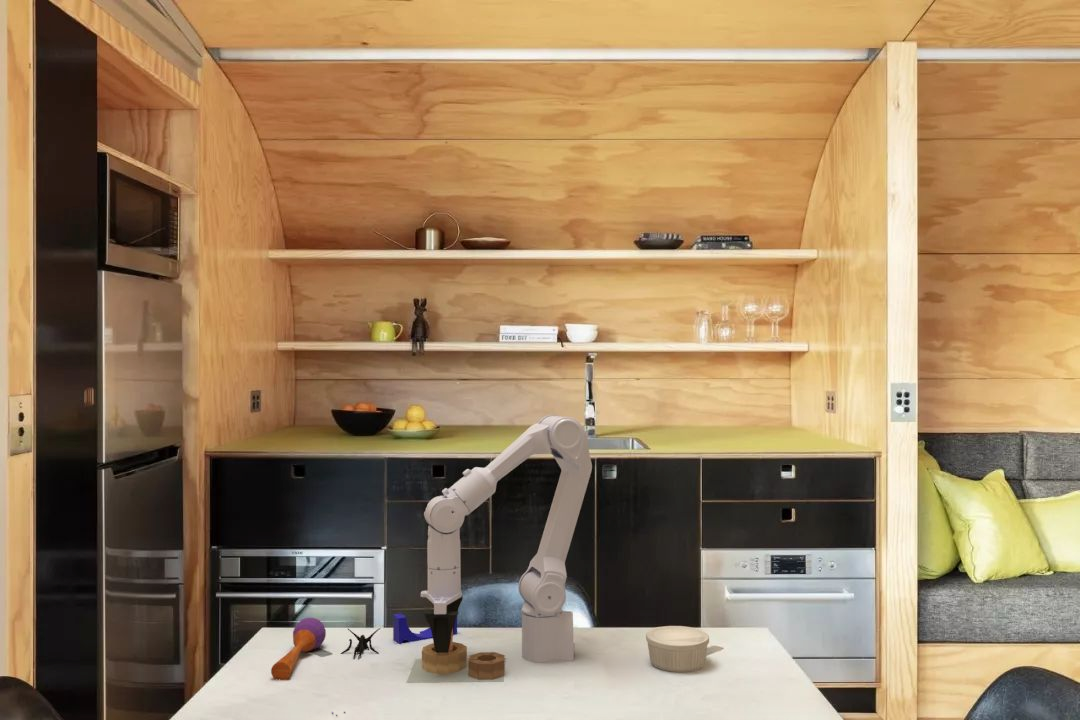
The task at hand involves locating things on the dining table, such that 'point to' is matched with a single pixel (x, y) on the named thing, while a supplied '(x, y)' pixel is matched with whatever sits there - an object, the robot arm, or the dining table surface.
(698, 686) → the dining table surface
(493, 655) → the walnut bead
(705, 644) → the ramekin
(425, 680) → the board
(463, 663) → the oak bead
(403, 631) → the blue curved cradle
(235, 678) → the dining table surface
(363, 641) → the creature
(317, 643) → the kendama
